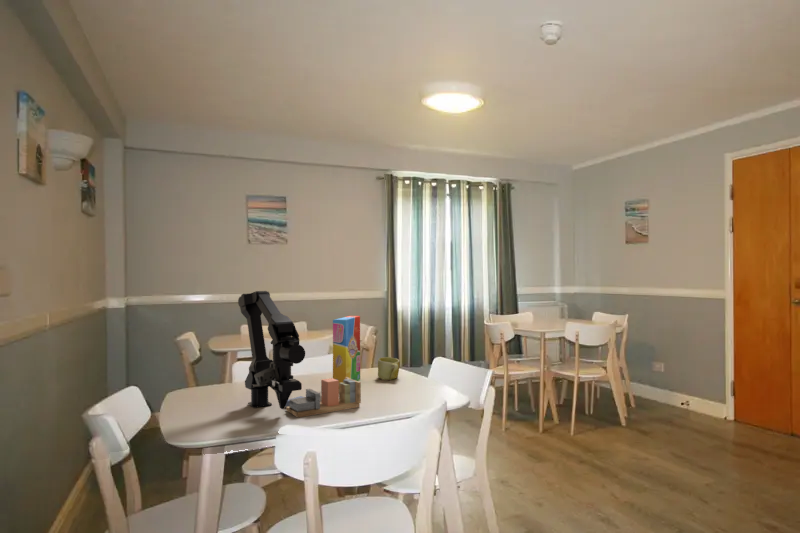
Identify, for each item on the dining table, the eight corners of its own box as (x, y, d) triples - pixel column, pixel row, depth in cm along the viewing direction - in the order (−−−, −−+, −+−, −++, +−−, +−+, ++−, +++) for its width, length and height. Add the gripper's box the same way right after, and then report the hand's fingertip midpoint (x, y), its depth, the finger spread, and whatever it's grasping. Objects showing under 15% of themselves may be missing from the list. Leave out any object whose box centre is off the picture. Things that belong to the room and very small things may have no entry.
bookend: (288, 406, 166) (288, 391, 166) (310, 403, 170) (310, 388, 170) (298, 412, 159) (298, 396, 160) (320, 408, 164) (319, 393, 164)
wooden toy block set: (286, 410, 167) (286, 385, 167) (347, 400, 179) (346, 377, 179) (297, 417, 158) (297, 391, 158) (360, 406, 171) (360, 382, 171)
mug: (370, 371, 221) (378, 351, 221) (392, 377, 224) (400, 357, 223) (376, 383, 210) (384, 361, 209) (398, 388, 213) (406, 367, 212)
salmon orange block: (321, 403, 171) (321, 379, 171) (332, 401, 173) (332, 378, 173) (327, 406, 167) (327, 382, 167) (338, 404, 169) (338, 380, 169)
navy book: (285, 406, 171) (285, 400, 171) (300, 402, 177) (300, 396, 177) (295, 409, 168) (295, 402, 168) (310, 404, 174) (310, 398, 174)
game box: (345, 390, 195) (345, 319, 196) (332, 389, 196) (331, 319, 197) (360, 379, 216) (360, 315, 216) (348, 378, 217) (348, 315, 217)
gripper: (248, 357, 164) (248, 406, 164) (266, 366, 149) (266, 419, 149) (281, 354, 170) (281, 401, 170) (302, 362, 155) (302, 413, 155)
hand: (282, 408), depth 161 cm, fingers closed
